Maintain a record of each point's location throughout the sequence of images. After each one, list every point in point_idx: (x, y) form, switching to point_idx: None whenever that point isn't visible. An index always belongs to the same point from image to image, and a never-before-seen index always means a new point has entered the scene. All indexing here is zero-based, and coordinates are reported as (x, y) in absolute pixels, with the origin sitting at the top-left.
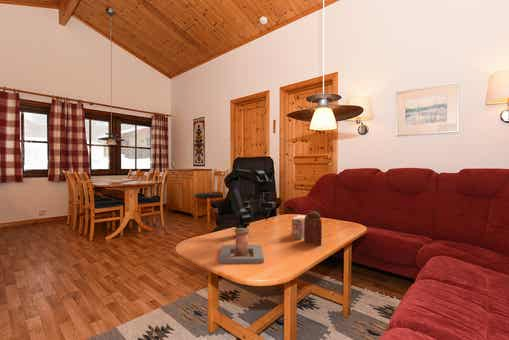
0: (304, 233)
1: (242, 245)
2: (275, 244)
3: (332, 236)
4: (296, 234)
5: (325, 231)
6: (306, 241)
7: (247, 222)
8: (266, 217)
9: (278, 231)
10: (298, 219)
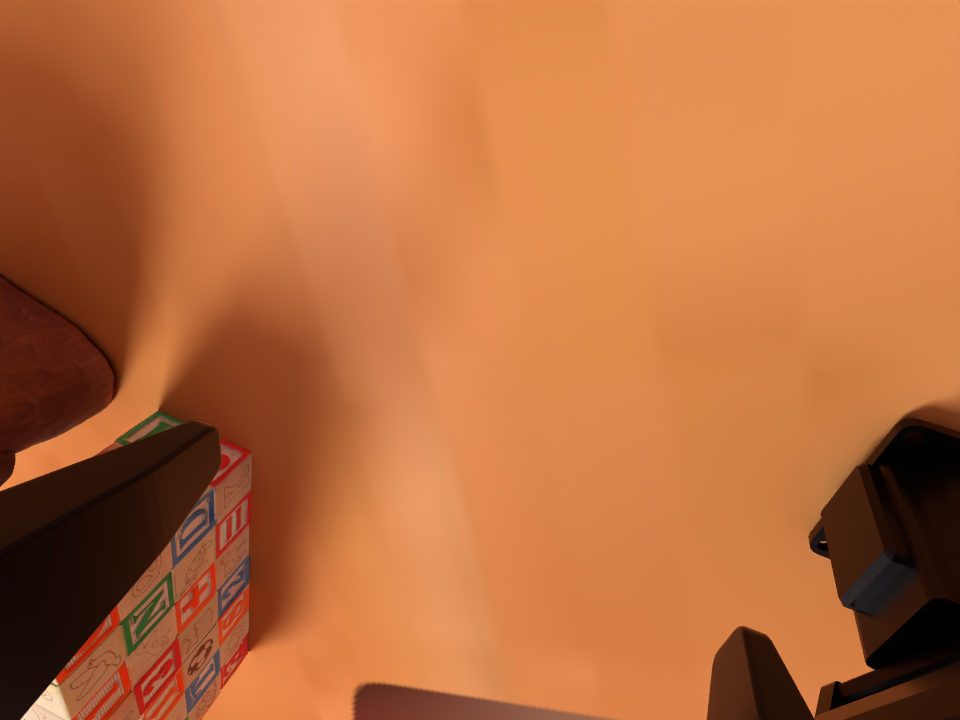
0: (18, 395)
1: None
2: (335, 194)
3: None
4: None
5: None
6: (69, 329)
7: (885, 701)
8: (112, 465)
9: (435, 649)
10: None
